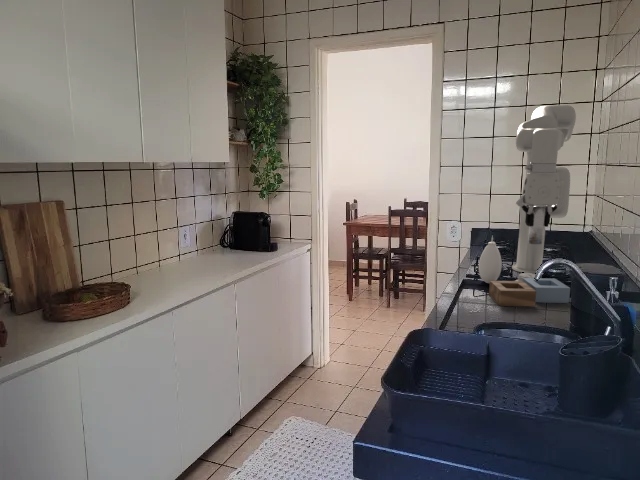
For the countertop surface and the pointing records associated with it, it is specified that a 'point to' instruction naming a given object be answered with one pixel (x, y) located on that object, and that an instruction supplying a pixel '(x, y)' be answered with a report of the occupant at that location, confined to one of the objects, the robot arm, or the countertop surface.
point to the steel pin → (537, 225)
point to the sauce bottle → (490, 263)
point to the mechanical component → (525, 276)
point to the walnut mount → (512, 293)
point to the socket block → (549, 290)
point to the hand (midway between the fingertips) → (537, 225)
